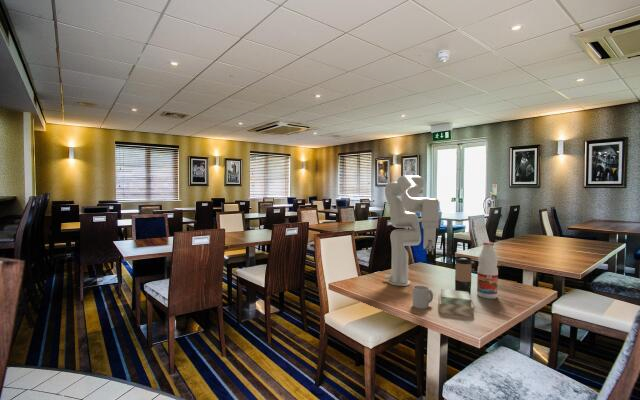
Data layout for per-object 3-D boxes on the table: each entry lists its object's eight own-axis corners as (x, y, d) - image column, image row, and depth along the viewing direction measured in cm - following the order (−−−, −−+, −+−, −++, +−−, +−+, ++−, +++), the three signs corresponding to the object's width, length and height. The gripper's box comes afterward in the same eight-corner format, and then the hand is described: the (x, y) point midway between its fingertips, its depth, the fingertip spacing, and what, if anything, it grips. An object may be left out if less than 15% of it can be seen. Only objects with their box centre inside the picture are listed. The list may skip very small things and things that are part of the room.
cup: (409, 304, 156) (410, 286, 156) (427, 302, 159) (428, 284, 158) (418, 309, 149) (418, 290, 149) (437, 307, 152) (437, 288, 151)
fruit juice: (496, 294, 172) (497, 241, 171) (498, 300, 163) (499, 244, 162) (476, 292, 176) (477, 240, 175) (477, 297, 167) (478, 243, 166)
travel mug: (470, 295, 171) (470, 257, 170) (471, 299, 164) (472, 260, 163) (454, 293, 173) (455, 255, 173) (455, 297, 166) (456, 258, 165)
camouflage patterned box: (439, 312, 146) (439, 297, 146) (438, 302, 159) (438, 288, 159) (473, 316, 141) (474, 300, 141) (470, 305, 155) (470, 291, 154)
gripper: (421, 222, 163) (421, 256, 164) (421, 225, 147) (421, 263, 147) (437, 223, 161) (437, 257, 162) (439, 226, 145) (438, 265, 145)
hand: (429, 260), depth 154 cm, fingers open, 9 cm apart
